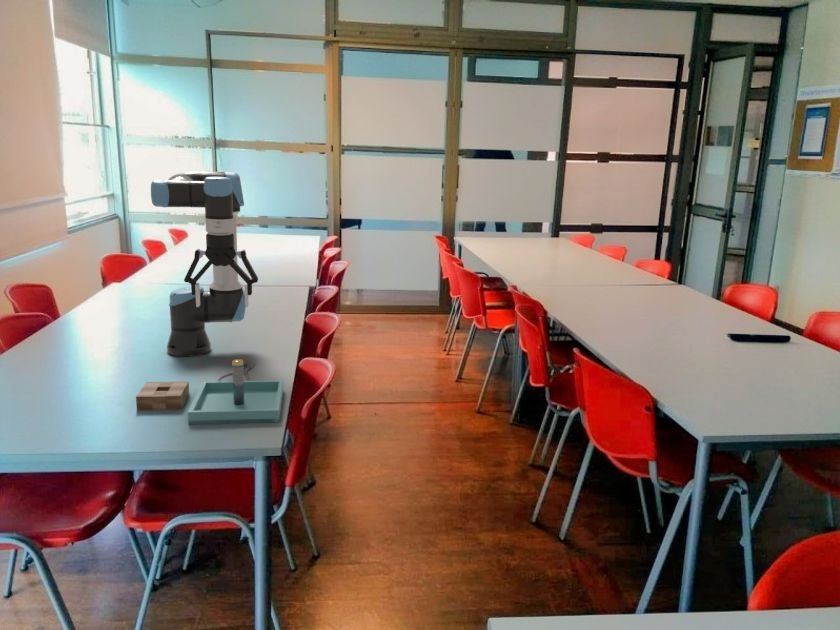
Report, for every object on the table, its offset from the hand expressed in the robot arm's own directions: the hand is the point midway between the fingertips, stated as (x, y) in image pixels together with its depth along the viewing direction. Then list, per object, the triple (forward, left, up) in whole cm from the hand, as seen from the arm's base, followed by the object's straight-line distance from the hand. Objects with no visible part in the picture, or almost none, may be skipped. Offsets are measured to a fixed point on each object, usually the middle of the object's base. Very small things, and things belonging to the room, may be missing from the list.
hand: (222, 305), depth 187 cm
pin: (+7, +5, -27) cm, 29 cm away
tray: (+7, +5, -28) cm, 30 cm away
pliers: (-22, +1, -29) cm, 36 cm away
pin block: (+2, -17, -28) cm, 33 cm away
